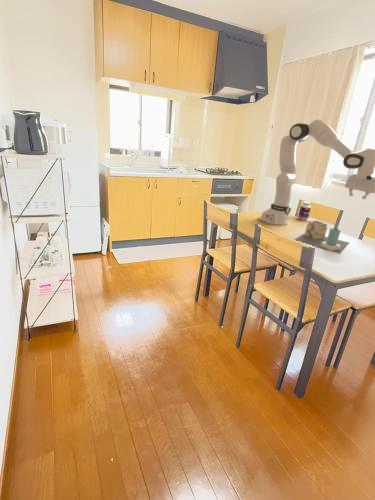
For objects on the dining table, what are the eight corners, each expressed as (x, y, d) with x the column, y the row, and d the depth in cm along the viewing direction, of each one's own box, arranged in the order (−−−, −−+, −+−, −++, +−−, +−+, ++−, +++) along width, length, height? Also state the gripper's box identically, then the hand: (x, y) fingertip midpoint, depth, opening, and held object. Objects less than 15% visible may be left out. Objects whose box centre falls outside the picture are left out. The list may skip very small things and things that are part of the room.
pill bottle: (302, 220, 227) (306, 203, 222) (295, 217, 234) (299, 201, 229) (309, 220, 230) (314, 203, 225) (302, 217, 237) (306, 201, 232)
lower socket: (320, 245, 171) (321, 242, 170) (329, 244, 174) (330, 241, 173) (330, 250, 165) (331, 246, 164) (340, 249, 168) (341, 245, 167)
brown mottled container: (304, 234, 190) (307, 220, 187) (314, 233, 194) (317, 220, 190) (314, 238, 183) (318, 224, 179) (324, 238, 186) (328, 224, 182)
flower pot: (280, 213, 244) (281, 205, 241) (291, 216, 238) (293, 208, 235) (275, 215, 236) (277, 207, 234) (287, 218, 231) (288, 210, 228)
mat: (292, 241, 177) (293, 240, 177) (306, 232, 197) (306, 231, 197) (339, 254, 161) (339, 253, 161) (349, 243, 181) (349, 242, 181)
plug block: (325, 246, 171) (330, 226, 165) (329, 246, 172) (335, 226, 167) (330, 249, 167) (336, 228, 162) (335, 248, 169) (341, 228, 164)
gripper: (346, 173, 181) (340, 193, 187) (375, 178, 164) (368, 200, 169) (352, 173, 184) (346, 193, 189) (382, 178, 166) (374, 200, 172)
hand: (357, 197), depth 179 cm, fingers open, 8 cm apart
